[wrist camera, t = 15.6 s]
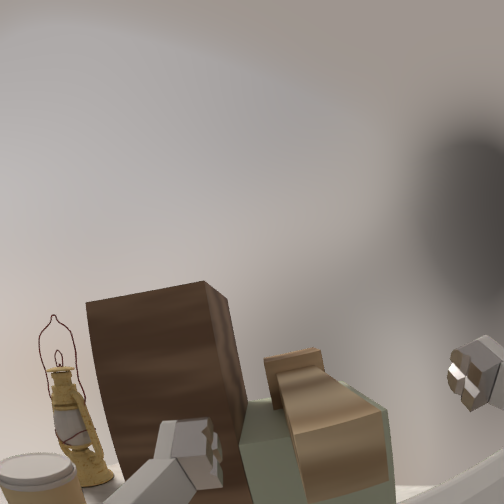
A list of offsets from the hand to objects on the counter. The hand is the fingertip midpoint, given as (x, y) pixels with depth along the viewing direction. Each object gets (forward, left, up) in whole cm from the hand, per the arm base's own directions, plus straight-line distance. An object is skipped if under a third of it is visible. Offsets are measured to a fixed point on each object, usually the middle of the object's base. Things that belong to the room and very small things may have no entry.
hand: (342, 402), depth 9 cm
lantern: (+9, +51, -20) cm, 56 cm away
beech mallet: (+8, +6, -4) cm, 11 cm away
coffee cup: (-4, +29, -20) cm, 36 cm away
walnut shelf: (+7, +15, -20) cm, 26 cm away
